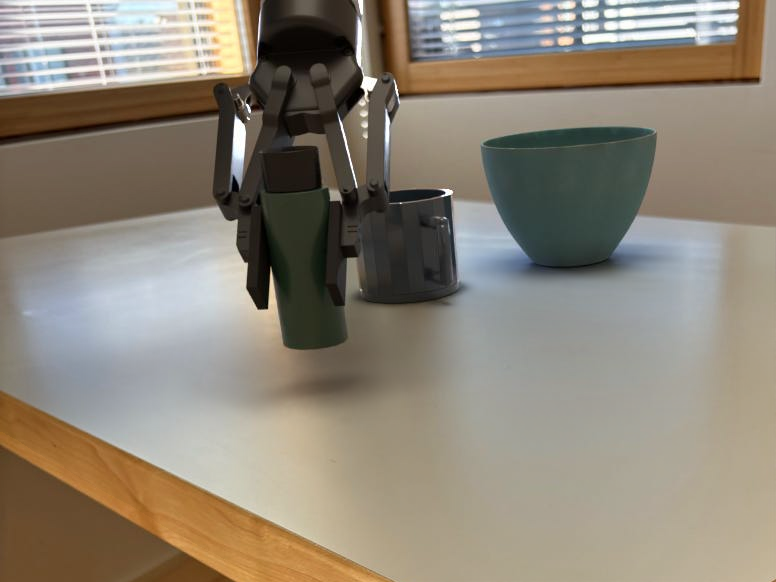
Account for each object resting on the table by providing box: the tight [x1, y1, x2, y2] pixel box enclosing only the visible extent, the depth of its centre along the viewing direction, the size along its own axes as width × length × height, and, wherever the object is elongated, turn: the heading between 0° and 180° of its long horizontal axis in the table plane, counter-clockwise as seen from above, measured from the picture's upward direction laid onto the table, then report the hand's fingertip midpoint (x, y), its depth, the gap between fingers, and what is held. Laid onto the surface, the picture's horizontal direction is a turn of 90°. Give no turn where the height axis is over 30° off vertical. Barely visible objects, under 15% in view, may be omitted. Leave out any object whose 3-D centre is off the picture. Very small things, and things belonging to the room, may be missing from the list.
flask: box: [259, 145, 349, 351], centre depth 73 cm, size 5×5×13 cm
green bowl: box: [479, 125, 658, 268], centre depth 110 cm, size 18×18×12 cm
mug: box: [355, 187, 460, 304], centre depth 101 cm, size 14×10×9 cm
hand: (296, 296), depth 71 cm, fingers closed on flask, 5 cm apart
